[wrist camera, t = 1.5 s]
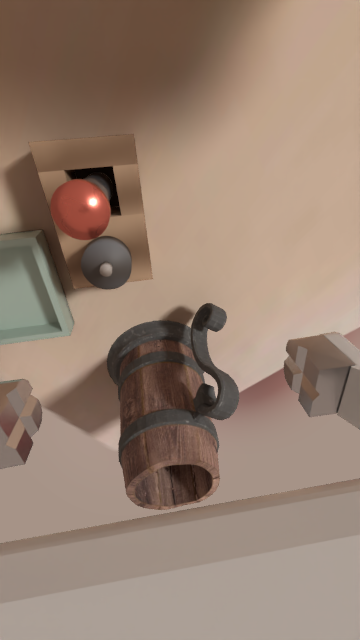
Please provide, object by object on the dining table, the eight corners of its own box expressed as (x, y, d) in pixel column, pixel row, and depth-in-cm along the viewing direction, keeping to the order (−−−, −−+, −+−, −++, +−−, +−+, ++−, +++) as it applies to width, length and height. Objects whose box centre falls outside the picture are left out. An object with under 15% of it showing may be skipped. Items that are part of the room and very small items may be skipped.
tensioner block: (44, 142, 28) (14, 142, 21) (133, 135, 28) (133, 133, 21) (80, 271, 35) (68, 303, 28) (150, 263, 36) (154, 292, 29)
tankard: (175, 407, 52) (195, 530, 36) (90, 381, 46) (65, 518, 29) (253, 314, 43) (329, 422, 26) (160, 264, 36) (183, 367, 20)
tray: (-78, 242, 31) (-97, 250, 28) (42, 229, 32) (35, 237, 29) (-23, 335, 38) (-34, 349, 36) (74, 323, 39) (70, 335, 37)
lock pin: (76, 168, 29) (42, 183, 18) (114, 165, 30) (102, 178, 19) (85, 207, 31) (60, 243, 20) (120, 204, 32) (114, 237, 21)
